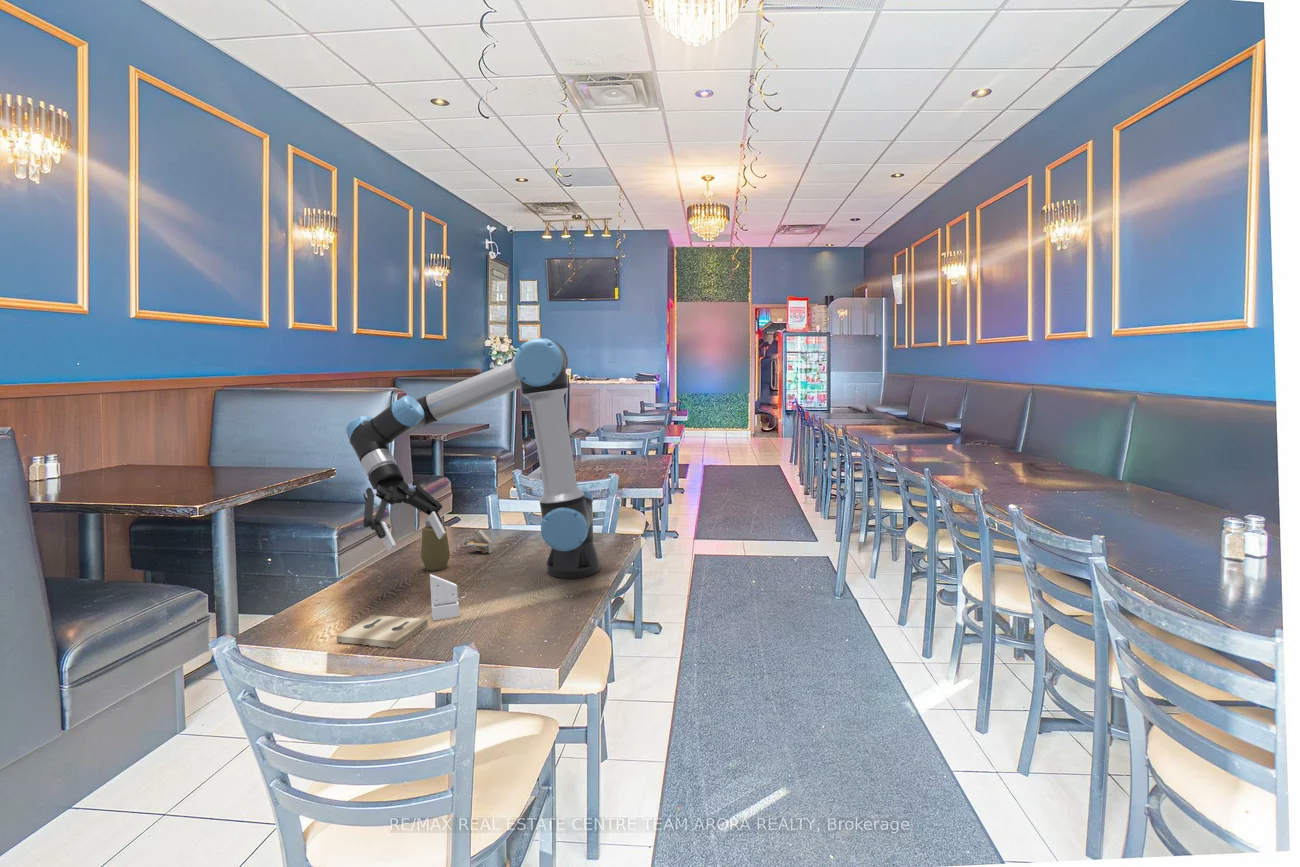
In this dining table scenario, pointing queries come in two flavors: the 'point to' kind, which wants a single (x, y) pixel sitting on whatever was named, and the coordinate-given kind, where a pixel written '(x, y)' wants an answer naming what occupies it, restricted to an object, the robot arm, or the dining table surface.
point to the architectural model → (482, 541)
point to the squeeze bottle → (434, 548)
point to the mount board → (382, 631)
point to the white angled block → (443, 598)
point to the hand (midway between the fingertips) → (418, 541)
